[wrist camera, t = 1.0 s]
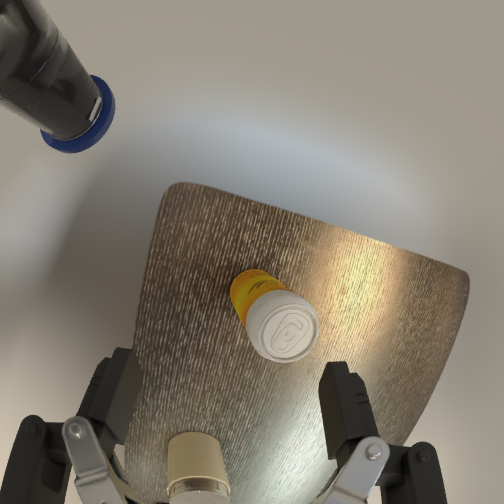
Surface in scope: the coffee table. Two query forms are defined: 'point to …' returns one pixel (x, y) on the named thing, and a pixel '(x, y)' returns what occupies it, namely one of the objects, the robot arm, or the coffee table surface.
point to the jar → (195, 459)
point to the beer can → (274, 316)
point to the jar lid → (198, 492)
